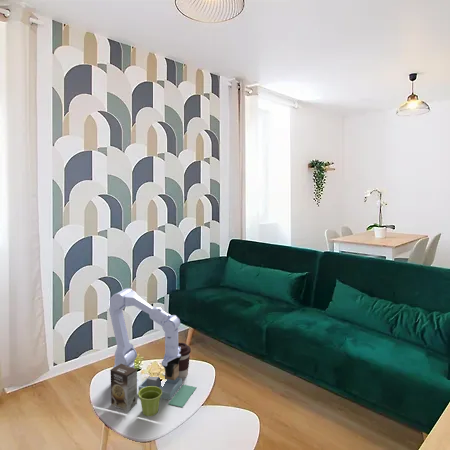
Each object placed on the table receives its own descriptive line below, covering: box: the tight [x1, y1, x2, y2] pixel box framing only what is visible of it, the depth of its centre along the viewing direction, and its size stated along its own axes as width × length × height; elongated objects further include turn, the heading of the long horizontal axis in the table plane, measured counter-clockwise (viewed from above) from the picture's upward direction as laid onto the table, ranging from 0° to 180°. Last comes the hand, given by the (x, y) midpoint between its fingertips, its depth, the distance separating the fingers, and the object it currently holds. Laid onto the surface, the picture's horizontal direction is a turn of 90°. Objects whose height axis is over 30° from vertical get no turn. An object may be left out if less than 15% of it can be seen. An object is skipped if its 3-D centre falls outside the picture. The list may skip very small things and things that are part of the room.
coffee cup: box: [177, 342, 192, 379], centre depth 178 cm, size 10×10×15 cm
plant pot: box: [137, 386, 162, 417], centre depth 151 cm, size 9×9×9 cm
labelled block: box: [164, 364, 179, 380], centre depth 163 cm, size 4×4×5 cm
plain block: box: [146, 375, 161, 387], centre depth 167 cm, size 4×4×5 cm
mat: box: [168, 384, 197, 408], centre depth 162 cm, size 6×15×1 cm, turn 162°
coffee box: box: [109, 364, 138, 412], centre depth 154 cm, size 9×6×16 cm
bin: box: [138, 374, 183, 401], centre depth 167 cm, size 15×12×4 cm
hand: (172, 373), depth 163 cm, fingers closed on labelled block, 4 cm apart
